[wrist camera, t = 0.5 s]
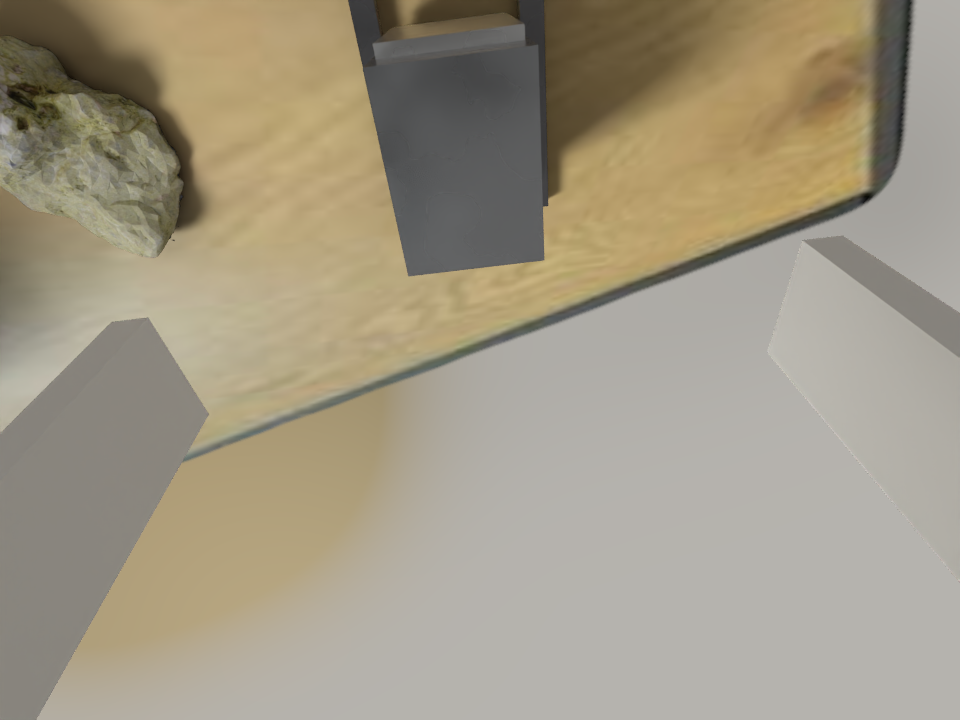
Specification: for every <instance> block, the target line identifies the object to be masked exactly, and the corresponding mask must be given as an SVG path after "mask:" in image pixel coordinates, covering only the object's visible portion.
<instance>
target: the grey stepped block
mask: <svg viewBox="0 0 960 720" xmlns="http://www.w3.org/2000/svg"><path fill="white" fill-rule="evenodd" d="M373 49H374V54H375V56H374V57H373V58H372V59H371V60H370V61H369V62H368V63H367V64H366V65H365V66H364V67H363V72H364V76H365V81H366V85H367V90H368V94H369V99H370V103H371V108H372V113H373V117H374V122H375V126H376V131H377V135H378V140H379V144H380V149H381V153H382V158H383V162H384V167H385V172H386V176H387V181H388V185H389V190H390V194H391V199H392V203H393V208H394V212H395V217H396V222H397V226H398V231H399V235H400V240H401V244H402V249H403V253H404V258H405V262H406V267H407V272H408V276H415V275H423V274H432V273H440V272H449V271H457V270H466V269H474V268H483V267H491V266H500V265H508V264H517V263H525V262H534V261H542V260H544V233H543V197H542V162H541V126H540V91H539V56H538V44H536V43H535V42H534V41H532V40H531V39H530V38H528V37H527V36H526V35H525V24H524V23H523V22H521V21H519V20H518V19H516V18H514V17H513V16H511V15H509V14H508V13H506V12H503V13H496V14H488V15H481V16H473V17H466V18H458V19H451V20H443V21H436V22H428V23H421V24H413V25H406V26H398V27H393V28H391V29H390V30H389V31H388V32H386V33H385V34H384V35H383V36H381V37H380V38H379V39H378V40H376V41H375V42H374V43H373Z"/></svg>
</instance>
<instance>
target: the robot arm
mask: <svg viewBox="0 0 960 720" xmlns="http://www.w3.org/2000/svg"><path fill="white" fill-rule="evenodd" d="M767 353H768V354H769V356H770V357H771V358H772V359H773V360H774V361H775V363H776V364H777V365H778V366H779V367H780V369H781V370H782V371H783V372H784V373H785V375H786V376H787V377H788V378H789V379H790V381H791V382H792V383H793V384H794V385H795V387H796V388H797V389H798V390H799V391H800V392H801V394H802V395H803V396H804V397H805V398H806V400H807V401H808V402H809V403H810V404H811V406H812V407H813V408H814V409H815V410H816V412H817V413H818V414H819V415H820V416H821V418H822V419H823V420H824V421H825V422H826V423H827V425H828V426H829V427H830V428H831V430H832V431H833V432H834V433H835V434H836V435H837V437H838V438H839V439H840V440H841V441H842V443H843V444H844V445H845V446H846V447H847V449H848V450H849V451H850V452H851V453H852V454H853V456H854V457H855V458H856V459H857V461H858V462H859V463H860V464H861V465H862V466H863V468H864V469H865V470H866V471H867V472H868V474H869V475H870V476H871V477H872V478H873V479H874V481H875V482H876V483H877V484H878V486H879V487H880V488H881V489H882V490H883V492H884V493H885V494H886V495H887V496H888V497H889V499H890V500H891V501H892V502H893V503H894V505H895V506H896V507H897V508H898V509H899V511H900V512H901V513H902V514H903V515H904V517H905V518H906V519H907V520H908V521H909V523H910V524H911V525H912V526H913V527H914V528H915V530H916V531H917V532H918V533H919V535H920V536H921V537H922V538H923V539H924V540H925V542H926V543H927V544H928V545H929V546H930V548H931V549H932V550H933V551H934V552H935V554H936V555H937V556H938V557H939V558H940V560H941V561H942V562H943V563H944V564H945V566H946V567H947V568H948V569H949V570H950V571H951V573H952V574H953V575H954V576H955V577H956V579H957V580H958V581H959V582H960V313H959V312H958V311H956V310H954V309H953V308H952V307H950V306H948V305H947V304H945V303H944V302H942V301H941V300H939V299H938V298H936V297H934V296H933V295H932V294H930V293H929V292H927V291H926V290H924V289H923V288H921V287H920V286H918V285H917V284H915V283H914V282H912V281H911V280H909V279H908V278H906V277H904V276H903V275H901V274H900V273H898V272H897V271H895V270H894V269H892V268H891V267H889V266H888V265H886V264H885V263H883V262H882V261H880V260H879V259H877V258H876V257H874V256H873V255H871V254H870V253H868V252H867V251H865V250H863V249H862V248H860V247H859V246H858V245H856V244H854V243H853V242H851V241H850V240H848V239H847V238H845V237H844V236H836V237H827V238H818V239H810V240H803V241H802V243H801V246H800V250H799V253H798V256H797V259H796V262H795V265H794V269H793V272H792V275H791V278H790V281H789V285H788V288H787V291H786V294H785V297H784V301H783V304H782V307H781V310H780V313H779V316H778V320H777V323H776V326H775V329H774V332H773V335H772V338H771V342H770V345H769V348H768V351H767ZM208 415H209V414H208V412H207V411H206V409H205V407H204V406H203V404H202V403H201V401H200V399H199V398H198V396H197V395H196V393H195V391H194V390H193V388H192V387H191V385H190V383H189V382H188V380H187V379H186V377H185V375H184V374H183V372H182V371H181V369H180V368H179V366H178V364H177V363H176V361H175V360H174V358H173V356H172V355H171V353H170V352H169V350H168V348H167V347H166V345H165V344H164V342H163V340H162V339H161V337H160V336H159V334H158V332H157V331H156V329H155V328H154V326H153V324H152V323H151V321H150V320H149V318H141V319H132V320H124V321H115V322H111V323H110V324H109V325H108V326H107V327H106V328H105V329H104V330H103V331H102V332H101V333H100V334H99V335H98V336H97V337H96V338H95V339H94V340H93V341H92V342H91V343H90V344H89V345H88V346H87V347H86V348H85V349H84V350H83V351H82V352H81V353H80V354H79V355H78V356H77V357H76V358H75V359H74V360H73V361H72V362H71V363H70V364H69V365H68V366H67V367H66V368H65V369H64V370H63V371H62V372H61V373H60V374H59V375H58V376H57V377H56V378H55V379H54V380H53V381H52V382H51V383H50V384H49V385H48V386H47V387H46V388H45V389H44V390H43V391H42V392H41V393H40V394H39V395H38V396H37V397H36V398H35V399H34V400H33V401H32V402H31V403H30V404H29V405H28V406H27V407H26V408H25V409H24V410H23V411H22V412H21V413H20V414H19V415H18V416H17V417H16V418H15V419H14V420H13V421H12V422H11V423H10V424H9V425H8V426H7V427H6V428H5V429H4V430H3V431H2V432H1V433H0V720H36V719H37V717H38V716H39V714H40V712H41V710H42V708H43V707H44V705H45V703H46V701H47V700H48V697H49V696H50V694H51V693H52V691H53V689H54V687H55V685H56V684H57V682H58V680H59V678H60V677H61V675H62V673H63V671H64V670H65V668H66V666H67V664H68V662H69V661H70V659H71V657H72V655H73V654H74V652H75V650H76V648H77V647H78V645H79V643H80V641H81V640H82V638H83V636H84V634H85V632H86V631H87V629H88V627H89V625H90V624H91V622H92V620H93V618H94V616H95V615H96V613H97V611H98V609H99V607H100V606H101V604H102V602H103V600H104V599H105V597H106V595H107V593H108V592H109V590H110V588H111V586H112V585H113V583H114V581H115V579H116V578H117V576H118V574H119V572H120V571H121V569H122V567H123V565H124V563H125V562H126V560H127V558H128V556H129V555H130V553H131V551H132V549H133V548H134V546H135V544H136V542H137V540H138V539H139V537H140V535H141V533H142V532H143V530H144V528H145V526H146V525H147V523H148V521H149V519H150V517H151V516H152V514H153V512H154V510H155V509H156V507H157V505H158V503H159V502H160V500H161V498H162V496H163V494H164V493H165V491H166V489H167V487H168V486H169V484H170V482H171V480H172V479H173V477H174V475H175V473H176V471H177V470H178V468H179V466H180V464H181V463H182V461H183V459H184V457H185V456H186V454H187V452H188V450H189V448H190V447H191V445H192V443H193V441H194V440H195V438H196V436H197V434H198V433H199V431H200V429H201V427H202V426H203V424H204V422H205V420H206V418H207V417H208Z"/></svg>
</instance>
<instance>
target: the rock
mask: <svg viewBox="0 0 960 720" xmlns="http://www.w3.org/2000/svg"><path fill="white" fill-rule="evenodd" d="M180 168H181V164H180V161H179V158H178V156H177V154H176V151H175V150H174V149H173V148H172V147H171V146H170V145H169V144H168V141H167V140H166V139H165V137H164V136H163V133H162V130H161V128H160V125H158V124H157V120H156V118H155V117H154V116H153V115H152V114H151V113H150V111H149V110H146V109H145V108H144V107H141V106H139V105H137V104H136V103H134V102H133V101H132V100H130V99H126V98H124V97H122V96H120V95H119V94H108V93H105V92H103V91H102V90H94V89H92V88H90V87H88V86H86V85H85V84H83V83H81V82H80V81H78V80H73V79H71V78H70V77H68V76H67V73H66V71H65V69H64V68H63V66H62V65H61V64H60V62H59V61H58V59H57V57H56V56H55V55H54V54H53V53H52V52H51V51H49V50H48V49H46V48H44V47H42V46H33V45H30V44H27V43H26V42H24V41H22V40H20V39H18V38H15V37H12V36H7V35H6V36H0V186H1V187H3V188H4V189H5V190H7V191H8V192H10V193H11V194H12V195H14V196H15V197H16V198H18V199H19V200H20V201H21V202H22V203H23V204H24V205H25V206H27V207H28V208H30V209H32V210H35V211H38V212H46V213H49V214H52V215H57V216H64V217H68V218H72V219H75V220H77V221H78V222H79V223H80V224H81V225H82V226H83V227H85V228H86V229H88V230H89V231H90V232H92V233H93V234H95V235H96V236H97V237H101V238H103V239H105V240H106V241H108V242H109V243H111V244H112V245H114V246H115V247H118V248H120V249H122V250H125V251H128V252H131V253H135V254H137V255H140V256H144V257H148V258H154V257H157V256H158V255H159V254H160V253H161V252H162V250H163V249H164V247H165V245H166V243H167V242H168V240H169V239H170V238H171V235H172V233H174V230H175V227H176V222H177V218H178V215H179V208H180V207H181V206H180V202H179V201H180V200H181V199H182V198H183V196H182V195H181V194H180V193H181V191H182V190H183V185H184V183H183V181H182V180H181V179H180V177H179V173H180V172H179V170H180ZM178 227H179V226H178ZM173 241H174V240H173Z"/></svg>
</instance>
